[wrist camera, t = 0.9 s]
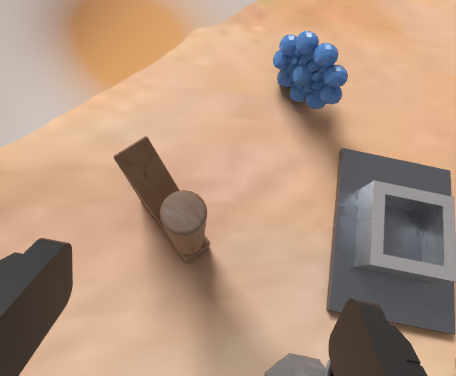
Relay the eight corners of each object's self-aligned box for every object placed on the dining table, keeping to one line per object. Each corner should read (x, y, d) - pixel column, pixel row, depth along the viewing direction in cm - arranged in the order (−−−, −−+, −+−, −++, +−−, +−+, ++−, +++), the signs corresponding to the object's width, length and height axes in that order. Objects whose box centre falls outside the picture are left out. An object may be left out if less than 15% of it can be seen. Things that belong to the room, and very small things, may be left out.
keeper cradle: (449, 333, 41) (482, 339, 36) (326, 309, 41) (343, 312, 36) (445, 173, 48) (472, 160, 43) (339, 150, 47) (355, 135, 43)
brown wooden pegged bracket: (161, 182, 44) (138, 113, 26) (210, 246, 42) (219, 217, 24) (138, 198, 43) (98, 137, 25) (186, 264, 41) (179, 247, 24)
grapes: (340, 110, 49) (384, 56, 38) (309, 134, 48) (344, 85, 36) (290, 57, 51) (316, -9, 40) (258, 78, 50) (276, 15, 38)
